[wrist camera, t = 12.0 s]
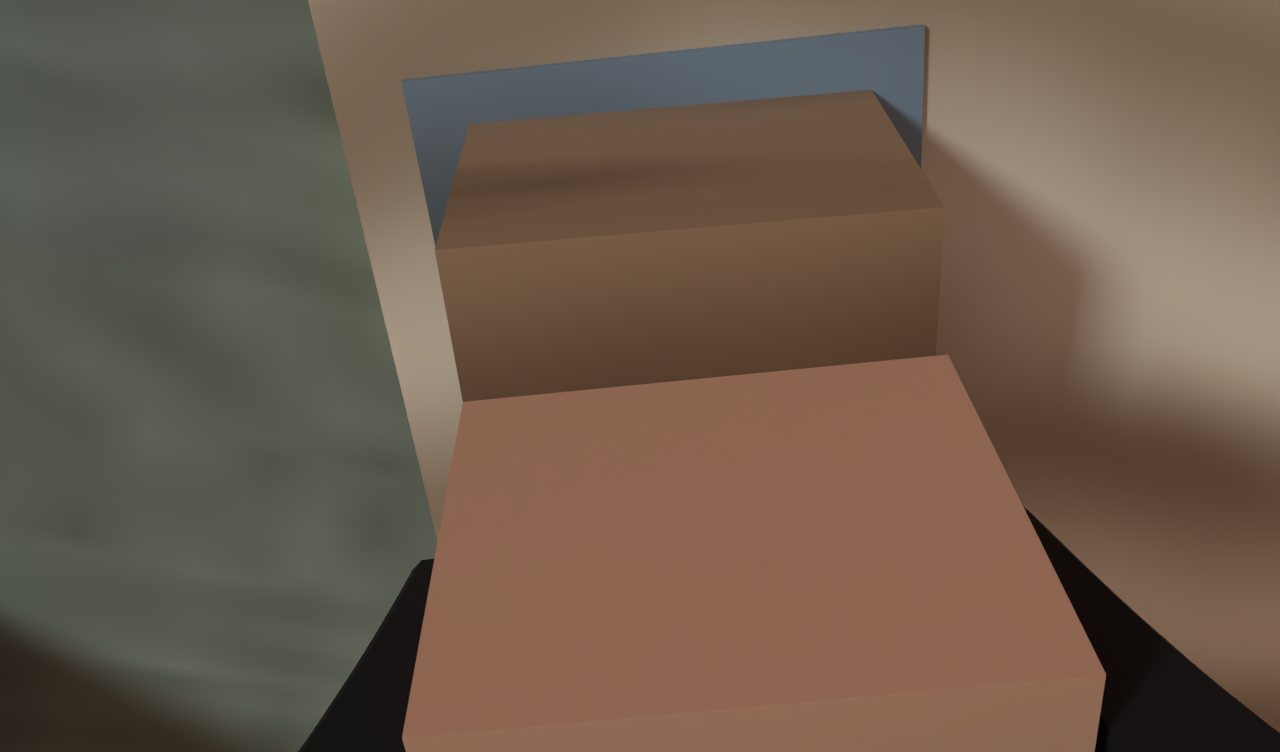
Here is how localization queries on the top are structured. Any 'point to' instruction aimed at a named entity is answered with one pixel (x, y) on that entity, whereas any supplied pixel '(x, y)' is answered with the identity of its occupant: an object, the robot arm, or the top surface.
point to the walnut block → (687, 245)
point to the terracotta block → (745, 576)
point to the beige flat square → (972, 237)
